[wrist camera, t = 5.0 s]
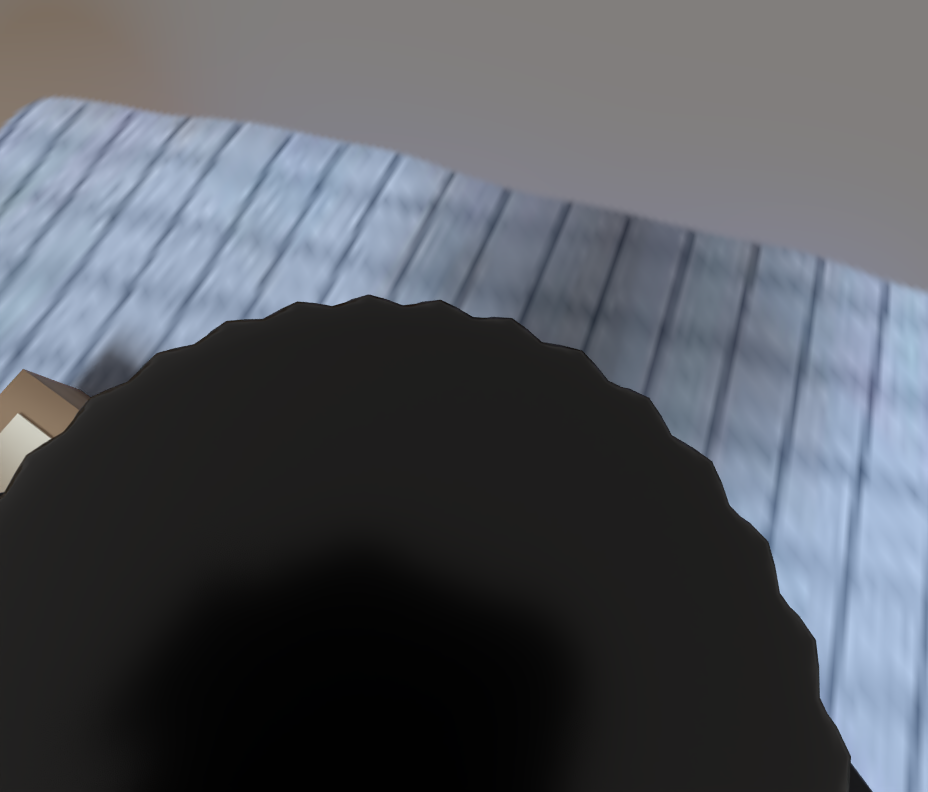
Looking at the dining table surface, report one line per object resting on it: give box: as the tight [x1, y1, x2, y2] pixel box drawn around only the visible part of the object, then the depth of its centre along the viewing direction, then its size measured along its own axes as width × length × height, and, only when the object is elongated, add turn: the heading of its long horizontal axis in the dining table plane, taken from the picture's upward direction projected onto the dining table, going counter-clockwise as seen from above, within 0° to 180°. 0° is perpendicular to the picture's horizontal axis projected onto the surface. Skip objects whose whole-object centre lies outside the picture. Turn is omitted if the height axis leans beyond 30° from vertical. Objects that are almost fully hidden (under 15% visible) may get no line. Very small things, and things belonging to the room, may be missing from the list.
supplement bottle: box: [0, 295, 851, 792], centre depth 8 cm, size 7×7×12 cm
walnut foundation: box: [0, 369, 90, 493], centre depth 20 cm, size 11×11×3 cm
